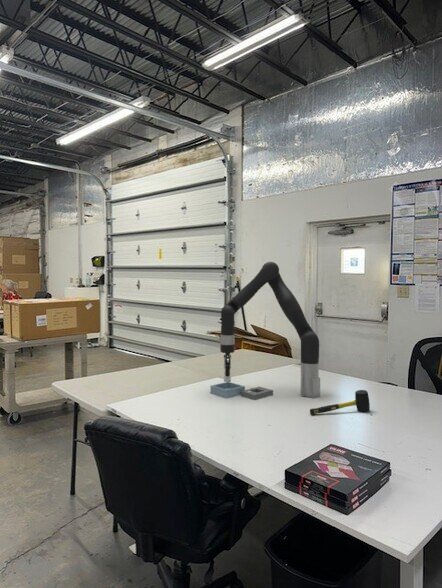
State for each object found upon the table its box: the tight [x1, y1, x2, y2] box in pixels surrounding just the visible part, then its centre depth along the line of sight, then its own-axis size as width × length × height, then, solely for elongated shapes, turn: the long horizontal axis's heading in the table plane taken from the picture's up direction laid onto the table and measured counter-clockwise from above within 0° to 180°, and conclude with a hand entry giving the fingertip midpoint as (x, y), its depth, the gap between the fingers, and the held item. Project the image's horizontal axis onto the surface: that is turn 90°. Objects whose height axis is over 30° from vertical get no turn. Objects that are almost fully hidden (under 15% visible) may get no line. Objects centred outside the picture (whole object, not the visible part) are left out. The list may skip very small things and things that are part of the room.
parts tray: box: [209, 381, 246, 399], centre depth 219 cm, size 13×13×4 cm
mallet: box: [309, 389, 371, 416], centre depth 187 cm, size 29×6×10 cm, turn 103°
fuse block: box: [240, 386, 274, 401], centre depth 215 cm, size 10×14×3 cm
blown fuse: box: [223, 363, 232, 383], centre depth 219 cm, size 4×4×9 cm
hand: (227, 375), depth 219 cm, fingers closed on blown fuse, 3 cm apart
